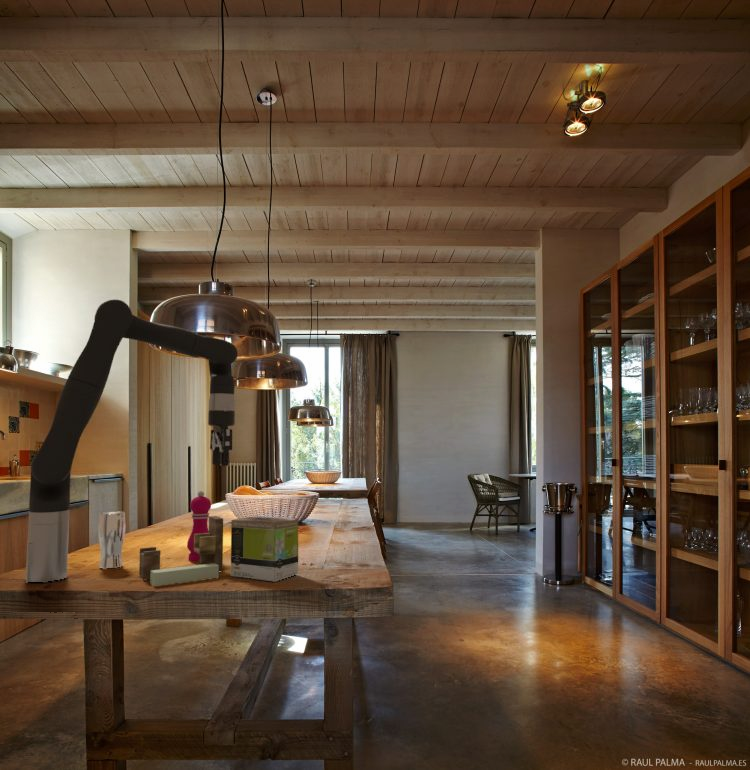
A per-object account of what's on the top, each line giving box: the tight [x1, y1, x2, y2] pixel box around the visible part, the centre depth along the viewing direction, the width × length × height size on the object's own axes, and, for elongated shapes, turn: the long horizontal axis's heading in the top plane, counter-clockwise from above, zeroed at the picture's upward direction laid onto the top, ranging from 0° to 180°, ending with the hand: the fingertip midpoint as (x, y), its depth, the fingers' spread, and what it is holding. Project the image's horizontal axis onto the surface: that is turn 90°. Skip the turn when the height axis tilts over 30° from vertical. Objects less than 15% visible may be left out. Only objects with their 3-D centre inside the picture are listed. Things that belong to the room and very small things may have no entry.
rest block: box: [138, 546, 162, 581], centre depth 158 cm, size 4×7×7 cm, turn 30°
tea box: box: [230, 515, 299, 583], centre depth 159 cm, size 15×10×15 cm
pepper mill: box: [186, 490, 212, 562], centre depth 182 cm, size 7×7×20 cm
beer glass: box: [97, 510, 127, 570], centre depth 171 cm, size 7×7×15 cm
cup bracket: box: [194, 515, 224, 572], centre depth 166 cm, size 6×7×14 cm
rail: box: [149, 563, 220, 587], centre depth 154 cm, size 16×4×4 cm, turn 123°
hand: (220, 465), depth 179 cm, fingers open, 8 cm apart
